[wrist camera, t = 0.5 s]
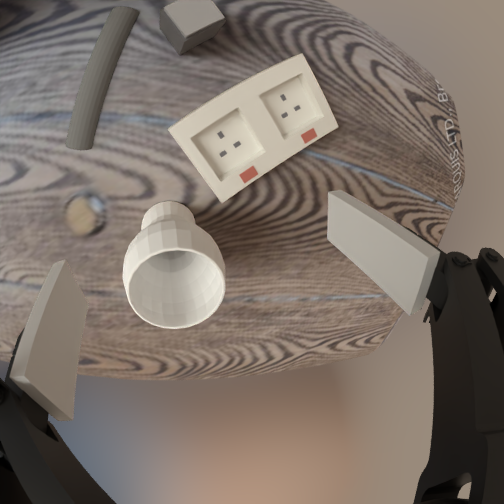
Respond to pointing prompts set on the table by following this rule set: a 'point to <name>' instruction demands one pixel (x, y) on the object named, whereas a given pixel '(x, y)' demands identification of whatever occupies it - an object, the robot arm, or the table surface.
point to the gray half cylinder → (99, 77)
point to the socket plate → (255, 126)
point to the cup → (173, 269)
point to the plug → (190, 23)
